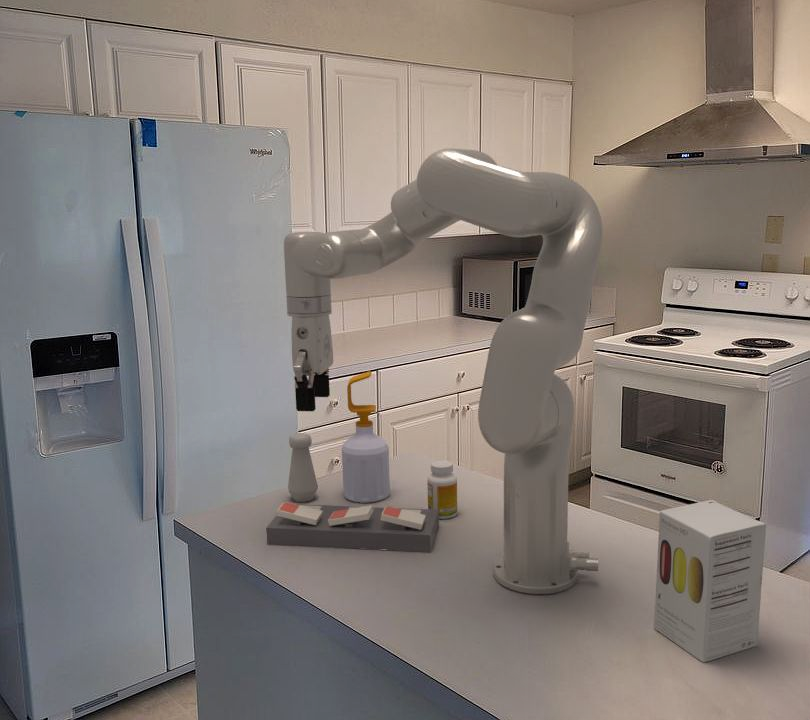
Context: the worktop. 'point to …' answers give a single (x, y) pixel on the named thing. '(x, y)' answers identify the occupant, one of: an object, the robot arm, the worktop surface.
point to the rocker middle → (350, 515)
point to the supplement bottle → (442, 489)
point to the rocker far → (299, 513)
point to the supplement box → (709, 579)
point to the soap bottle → (364, 456)
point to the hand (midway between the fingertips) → (313, 403)
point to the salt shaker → (301, 469)
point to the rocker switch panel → (355, 531)
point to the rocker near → (403, 517)
